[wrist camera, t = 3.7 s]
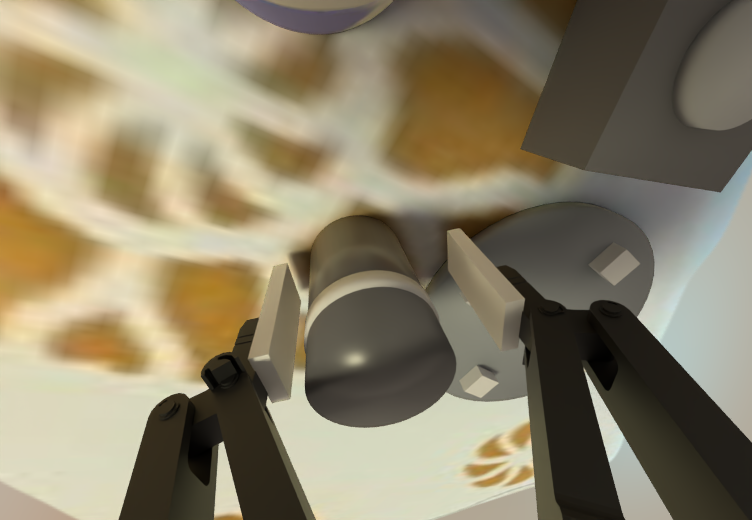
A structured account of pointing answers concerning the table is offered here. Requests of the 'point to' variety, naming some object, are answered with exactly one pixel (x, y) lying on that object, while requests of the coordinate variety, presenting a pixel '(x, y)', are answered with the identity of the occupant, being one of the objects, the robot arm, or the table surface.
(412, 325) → the grey rounded cylinder
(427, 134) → the table surface
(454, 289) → the plate
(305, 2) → the container
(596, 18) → the camera body block
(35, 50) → the table surface
